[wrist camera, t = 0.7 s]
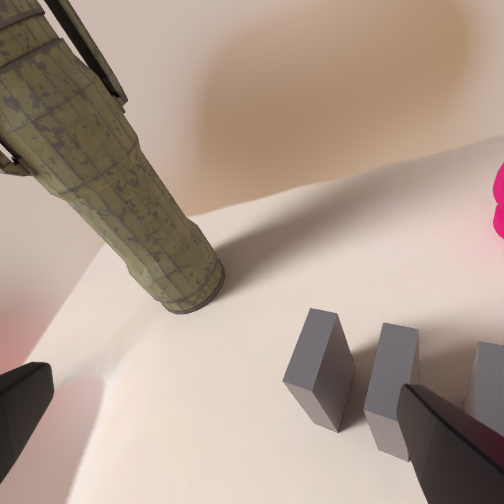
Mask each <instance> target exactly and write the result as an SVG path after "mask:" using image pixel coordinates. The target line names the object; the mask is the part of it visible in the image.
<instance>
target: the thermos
mask: <svg viewBox="0 0 504 504" xmlns="http://www.w3.org/2000/svg"><path fill="white" fill-rule="evenodd" d="M44 1H45V2H46V4H47V5H48V7H49V8H50V10H51V11H52V13H53V14H54V16H55V17H56V19H57V20H58V22H59V23H60V25H61V26H62V28H63V29H64V31H65V32H66V34H67V35H68V37H69V38H70V40H71V41H72V43H73V44H74V46H75V47H76V49H77V50H78V52H79V53H80V55H81V56H82V58H83V59H84V61H85V62H86V64H87V65H88V67H87V66H86V65H85V64H84V63H83V62H82V61H81V60H80V59H79V58H77V56H75V55H74V54H73V53H72V51H71V49H70V48H69V47H68V45H67V43H66V42H65V41H64V39H63V38H59V37H58V35H57V34H56V33H55V31H54V30H53V28H52V27H51V25H50V24H49V22H48V21H47V19H46V18H45V16H44V14H45V11H44V10H43V8H42V7H41V5H40V4H39V3H38V1H37V0H0V143H1V144H2V145H3V146H4V147H5V149H6V150H7V151H8V152H9V153H10V154H11V155H13V156H12V157H11V158H12V160H13V161H14V162H12V161H11V160H9V159H8V158H7V157H6V156H5V155H4V154H3V153H2V152H1V151H0V173H3V174H10V175H16V176H27V175H28V176H33V177H34V178H35V179H36V180H37V181H38V182H39V183H40V184H41V185H42V186H43V187H44V188H45V189H47V191H48V192H50V194H53V195H55V196H57V197H59V198H61V199H63V200H65V201H67V202H68V203H69V204H70V206H71V207H72V208H73V209H74V210H75V211H76V212H77V213H78V214H80V216H81V217H82V218H83V219H84V220H85V221H86V222H87V223H88V224H89V225H90V226H91V227H92V228H93V229H94V230H95V231H96V232H97V233H98V234H99V235H100V236H101V237H102V238H103V239H104V240H105V241H106V242H107V244H108V245H109V246H110V247H111V248H112V249H113V250H114V251H115V252H116V253H117V254H118V255H119V256H120V257H121V258H122V259H123V260H124V261H125V263H126V265H127V268H128V270H129V273H130V275H131V276H132V277H133V278H134V279H135V280H136V281H137V282H138V283H139V284H140V285H141V286H142V287H143V288H144V289H145V290H146V291H147V292H148V293H149V294H150V295H151V296H152V297H153V298H154V299H155V300H157V301H160V302H161V304H162V305H163V306H164V307H165V308H166V309H167V310H168V311H169V312H172V313H174V314H188V313H191V312H194V311H197V310H198V309H200V308H202V307H203V306H205V305H207V304H208V303H209V302H210V301H211V300H212V299H213V298H214V297H215V296H216V295H217V293H218V292H219V290H220V289H221V287H222V284H223V281H224V278H225V273H224V268H223V266H222V264H221V262H220V261H219V260H218V259H217V258H216V253H215V252H214V250H213V248H212V247H211V245H210V243H209V242H208V240H207V239H206V237H205V236H204V234H203V233H202V231H201V230H200V228H199V227H198V225H197V224H195V223H194V222H192V221H191V220H189V219H188V218H186V216H185V215H184V213H183V212H182V211H181V209H180V207H179V206H178V204H177V203H176V202H175V200H174V198H173V197H172V196H171V194H170V193H169V191H168V190H167V188H166V187H165V185H164V184H163V182H162V181H161V179H160V178H159V176H158V175H157V173H156V172H155V170H154V169H153V168H152V166H151V165H150V163H149V161H148V160H147V159H146V157H145V156H144V154H143V153H142V151H141V149H140V144H139V140H138V137H137V134H136V133H135V131H134V130H133V128H132V127H131V125H130V124H129V122H128V121H127V119H126V118H125V116H124V115H123V114H124V113H125V110H124V109H123V107H122V106H123V105H124V104H125V103H126V102H127V101H128V99H127V97H126V95H125V93H124V91H123V89H122V87H121V85H120V83H119V82H118V80H117V78H116V76H115V74H114V73H113V71H112V69H111V68H110V66H109V65H108V63H107V62H106V60H105V58H104V57H103V55H102V54H101V52H100V50H99V49H98V47H97V45H96V44H95V42H94V41H93V39H92V38H91V36H90V34H89V33H88V31H87V30H86V28H85V26H84V25H83V23H82V22H81V20H80V18H79V17H78V15H77V14H76V12H75V10H74V9H73V7H72V6H71V4H70V2H69V1H68V0H44Z"/></svg>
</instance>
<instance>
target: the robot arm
mask: <svg viewBox="0 0 504 504" xmlns="http://www.w3.org/2000/svg"><path fill="white" fill-rule="evenodd" d="M53 395H54V384H53V377H52V369H51V366H50V364H48V363H45V362H30V363H28V364H25V365H23V366H20V367H18V368H16V369H13V370H11V371H8V372H6V373H4V374H2V375H0V484H1V483H2V481H3V480H4V478H5V477H6V476H7V474H8V473H9V471H10V470H11V468H12V467H13V465H14V463H15V462H16V460H17V459H18V457H19V456H20V454H21V452H22V451H23V449H24V447H25V445H26V444H27V442H28V440H29V439H30V437H31V435H32V433H33V432H34V430H35V428H36V427H37V425H38V423H39V421H40V420H41V418H42V416H43V414H44V413H45V411H46V409H47V408H48V406H49V404H50V402H51V400H52V398H53ZM396 417H397V421H398V424H399V427H400V430H401V432H402V435H403V438H404V441H405V444H406V447H407V450H408V453H409V455H410V458H411V461H412V464H413V467H414V470H415V473H416V475H417V478H418V481H419V483H420V486H421V488H422V490H423V493H424V495H425V497H426V500H427V502H428V504H504V436H502V435H500V434H499V433H497V432H496V431H494V430H492V429H491V428H489V427H488V426H486V425H485V424H483V423H481V422H480V421H478V420H477V419H475V418H473V417H472V416H470V415H469V414H467V413H465V412H464V411H462V410H461V409H459V408H457V407H456V406H454V405H453V404H451V403H450V402H448V401H446V400H445V399H443V398H442V397H440V396H438V395H437V394H435V393H434V392H432V391H430V390H429V389H427V388H426V387H424V386H422V385H421V384H413V383H405V384H403V385H402V386H401V389H400V394H399V399H398V403H397V408H396Z"/></svg>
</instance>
